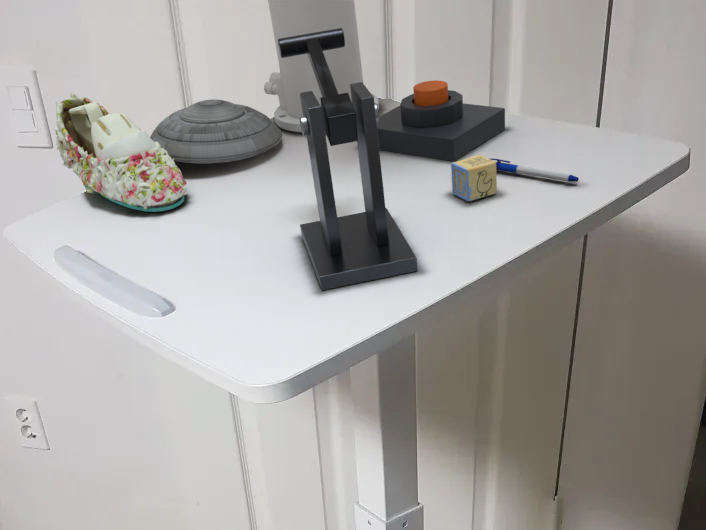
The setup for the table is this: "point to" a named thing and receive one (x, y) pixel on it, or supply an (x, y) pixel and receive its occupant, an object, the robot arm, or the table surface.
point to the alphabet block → (474, 178)
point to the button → (430, 93)
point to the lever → (325, 82)
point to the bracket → (356, 229)
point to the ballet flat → (116, 157)
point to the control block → (438, 127)
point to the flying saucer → (216, 133)
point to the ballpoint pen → (533, 171)
